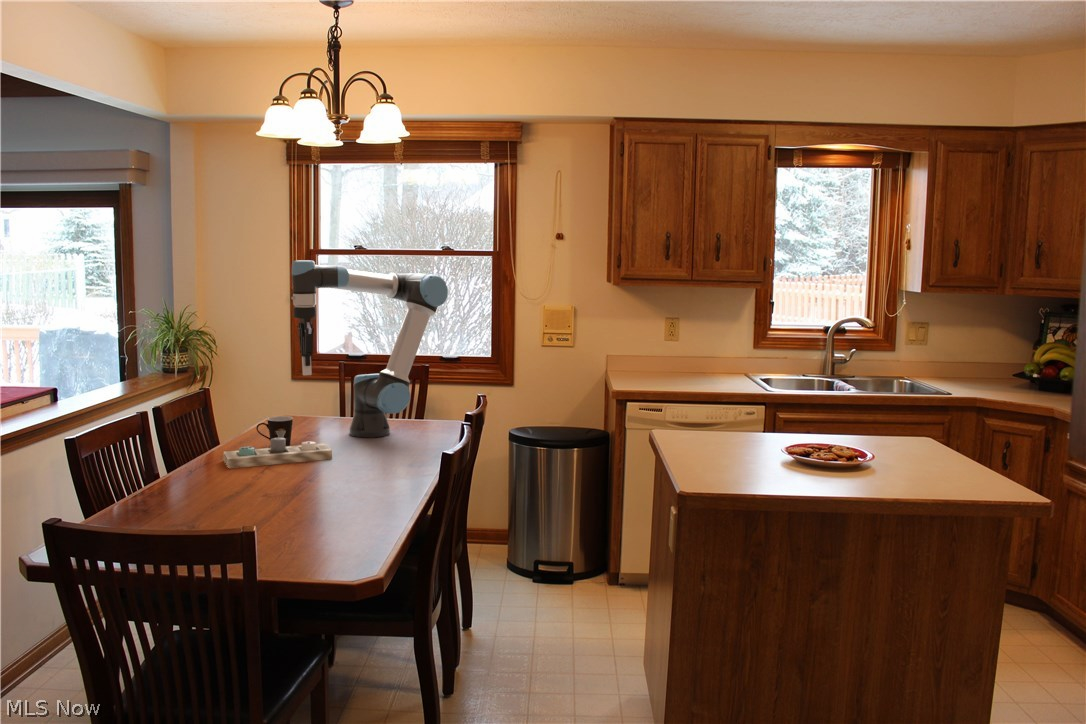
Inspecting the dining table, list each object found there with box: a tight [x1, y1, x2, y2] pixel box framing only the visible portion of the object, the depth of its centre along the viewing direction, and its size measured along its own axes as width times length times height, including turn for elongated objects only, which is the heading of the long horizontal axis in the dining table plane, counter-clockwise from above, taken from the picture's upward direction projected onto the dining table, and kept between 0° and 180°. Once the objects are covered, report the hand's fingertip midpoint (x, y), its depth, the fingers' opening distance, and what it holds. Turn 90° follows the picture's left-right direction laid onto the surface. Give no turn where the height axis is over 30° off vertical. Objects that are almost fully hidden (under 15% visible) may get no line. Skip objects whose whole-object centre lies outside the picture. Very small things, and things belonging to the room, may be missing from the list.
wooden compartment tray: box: [222, 443, 333, 469], centre depth 281 cm, size 33×11×3 cm, turn 117°
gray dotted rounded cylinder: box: [269, 438, 286, 454], centre depth 281 cm, size 5×5×5 cm
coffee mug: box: [256, 415, 294, 446], centre depth 300 cm, size 12×9×10 cm
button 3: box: [238, 446, 255, 456], centre depth 276 cm, size 5×5×5 cm
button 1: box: [300, 441, 317, 451], centre depth 286 cm, size 5×5×5 cm
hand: (307, 374), depth 290 cm, fingers closed
